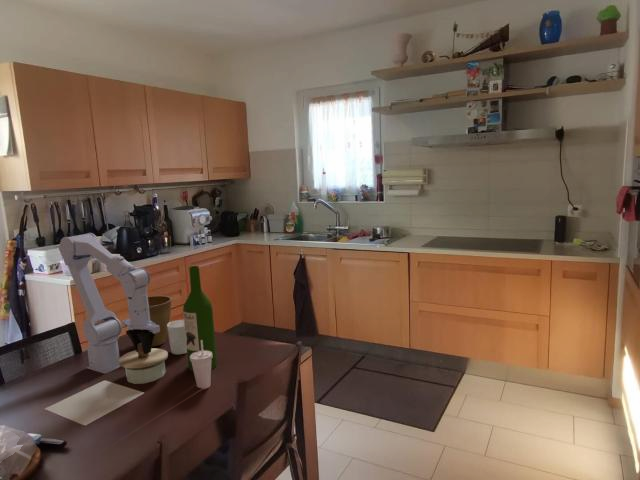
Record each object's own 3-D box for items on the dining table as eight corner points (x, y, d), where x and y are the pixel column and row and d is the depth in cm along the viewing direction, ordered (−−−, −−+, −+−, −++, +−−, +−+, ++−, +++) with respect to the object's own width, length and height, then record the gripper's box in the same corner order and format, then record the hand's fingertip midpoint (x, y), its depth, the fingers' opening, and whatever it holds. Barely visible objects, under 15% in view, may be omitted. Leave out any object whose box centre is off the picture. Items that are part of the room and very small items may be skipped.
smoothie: (209, 392, 128) (205, 345, 126) (188, 390, 129) (183, 344, 127) (218, 381, 134) (214, 336, 132) (198, 380, 136) (194, 335, 133)
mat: (44, 410, 122) (44, 408, 122) (104, 381, 137) (104, 380, 137) (85, 427, 113) (85, 425, 113) (144, 394, 128) (144, 392, 128)
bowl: (119, 381, 138) (117, 366, 137) (149, 366, 147) (147, 352, 146) (143, 388, 132) (142, 373, 132) (172, 372, 142) (171, 358, 141)
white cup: (172, 347, 162) (169, 320, 160) (195, 345, 163) (192, 318, 161) (167, 356, 154) (164, 328, 153) (190, 354, 155) (188, 326, 153)
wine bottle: (182, 370, 143) (172, 269, 138) (200, 358, 151) (191, 263, 146) (206, 374, 140) (196, 271, 134) (222, 361, 148) (214, 264, 142)
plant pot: (183, 337, 171) (179, 296, 168) (156, 353, 157) (151, 308, 154) (152, 333, 176) (147, 294, 173) (123, 348, 162) (118, 305, 160)
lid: (108, 363, 136) (107, 347, 135) (146, 348, 148) (145, 333, 147) (140, 371, 129) (139, 355, 128) (177, 355, 141) (176, 340, 140)
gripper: (111, 310, 136) (116, 352, 139) (144, 316, 129) (149, 361, 131) (131, 303, 142) (136, 344, 145) (163, 309, 135) (168, 352, 137)
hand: (143, 351), depth 138 cm, fingers closed on lid, 3 cm apart
